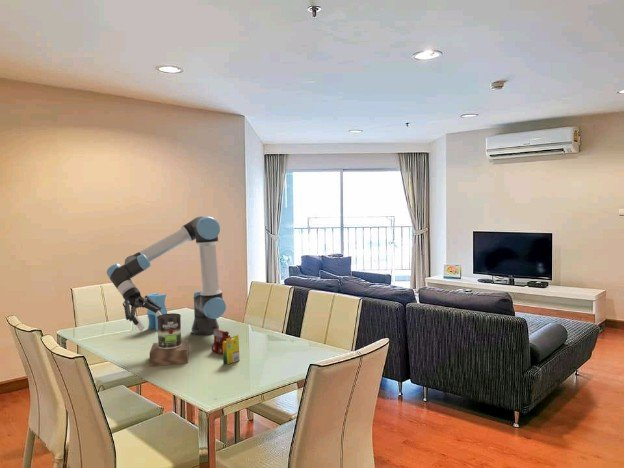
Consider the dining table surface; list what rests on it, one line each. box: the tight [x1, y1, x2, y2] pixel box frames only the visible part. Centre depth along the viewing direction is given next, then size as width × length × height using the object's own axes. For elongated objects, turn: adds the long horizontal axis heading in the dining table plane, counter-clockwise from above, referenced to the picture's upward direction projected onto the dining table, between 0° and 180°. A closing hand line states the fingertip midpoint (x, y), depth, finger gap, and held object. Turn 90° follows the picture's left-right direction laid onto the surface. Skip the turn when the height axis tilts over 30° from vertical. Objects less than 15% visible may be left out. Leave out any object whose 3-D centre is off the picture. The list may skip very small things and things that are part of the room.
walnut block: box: [149, 339, 190, 367], centre depth 212 cm, size 16×16×6 cm
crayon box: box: [222, 334, 240, 365], centre depth 207 cm, size 7×3×12 cm, turn 141°
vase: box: [146, 292, 168, 332], centre depth 269 cm, size 8×8×20 cm
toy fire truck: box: [210, 329, 231, 356], centre depth 221 cm, size 7×12×10 cm, turn 50°
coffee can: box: [157, 312, 182, 349], centre depth 212 cm, size 10×10×14 cm
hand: (153, 325), depth 216 cm, fingers open, 13 cm apart
